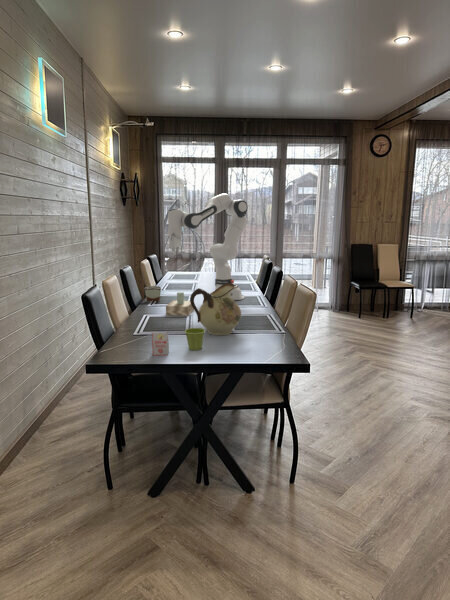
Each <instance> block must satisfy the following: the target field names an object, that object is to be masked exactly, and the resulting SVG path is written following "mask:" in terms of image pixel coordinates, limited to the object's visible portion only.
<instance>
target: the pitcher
mask: <svg viewBox="0 0 450 600" xmlns="http://www.w3.org/2000/svg"><path fill="white" fill-rule="evenodd" d="M238 287H239V288H240V286H239V285H237V284H235V283H233V284H232V283H226V284H223V285H221V286H220V287H219V288H218V289H216V290H215V289H214V291H211V292H207V291H206V290H204V289H203V288H198V287H197V288H196V289H195V290H194V291H193V292H192V293H191V295H190V298H189V301H190V302H191V305H192V307H193V309H194V310H193V311H194V312H195V313H196V316H197V323H200V324H201V325H202V326H203V327H204V329H205V330H207V331H208V333H209V334H210V335H214V336H226V335H230V334H232V332H233V330H234V329H235V328H236V327H237V326H238V324H239V323H240V321H241V318H242V309H241V307H240V306H239V305H238V304H239V303H237V302H236V300H233V299H232V298H231V292H232V291H233V290H234V289H236V288H238ZM198 295H202V296H203V300H202V304H201V305H200V307H199V309H198V307H197V305H196V303H195V298H196V296H198Z"/></svg>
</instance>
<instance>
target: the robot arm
mask: <svg viewBox="0 0 450 600" xmlns="http://www.w3.org/2000/svg"><path fill="white" fill-rule="evenodd" d="M248 206H249V205H248V202H247V201H246V200H244V199H241V198H240V199H232V197H231V196H230V195H229V194H228V193H220V194H218V195H214V196H213V197H211V198H210V199H208V200H207V201H206V202H205V208H203V209H202V210H199V211H198V212H190V213H188V212H185V211H183V210H182V209H181V208H180V207H178V208H177V207H175V208H170V209H169V210H168V212H167V213H168V214H167V223H168V227H167V232H168V237H169V245H168V246H169V248H170V249H171V252H172V255H174V256H175V255H176V254H178V253H179V252H180V247H181V246H182V236H183V231H182V228H186V229H192V230H195V229H197V228H198V227H199V226H200V225H201V224H202V223H203V221H205V220H207V219H208V218H211V217H212V216H213V215H216V214H219V213H220V212H224V214H225V215H226V216H229V217H231V221H230V222H229V225H228V226H227V228H226V230H225V232H224V235H223V237H224V240H223V243H215V244H213V245H211V246H210V248H209V254H210V256H211V257H212V259H213V263H214V266H215V267H214V269H215V279H214V286H215V289H214V291H215V290H216V289H218V288H219V287H220V286H221V285H223V284H226V283H232V284H235V279H234V278H232V267H231V265H230V264H229V262H228V261H232V260H235V259H236V258H237V256H238V250H237V246H238V243H239V239H240V238H241V235H242V234H243V233H244V230H245V229H246V226H247V223H248V222H247V221H248V220H247V218H246V216H247V212H248V208H249V207H248ZM231 298H232V299H233V300H234V301H237V300H238V301H239V300H241V301H242V300H244V299H245V295H244V294H242V290H241V288H240V286H239V287H238V288H236V289H234V290H233V291H232V292H231Z"/></svg>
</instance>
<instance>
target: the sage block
mask: <svg viewBox="0 0 450 600" xmlns="http://www.w3.org/2000/svg"><path fill="white" fill-rule="evenodd" d="M176 301H177V304H184V301H185V292H184V291H177V292H176Z"/></svg>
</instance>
